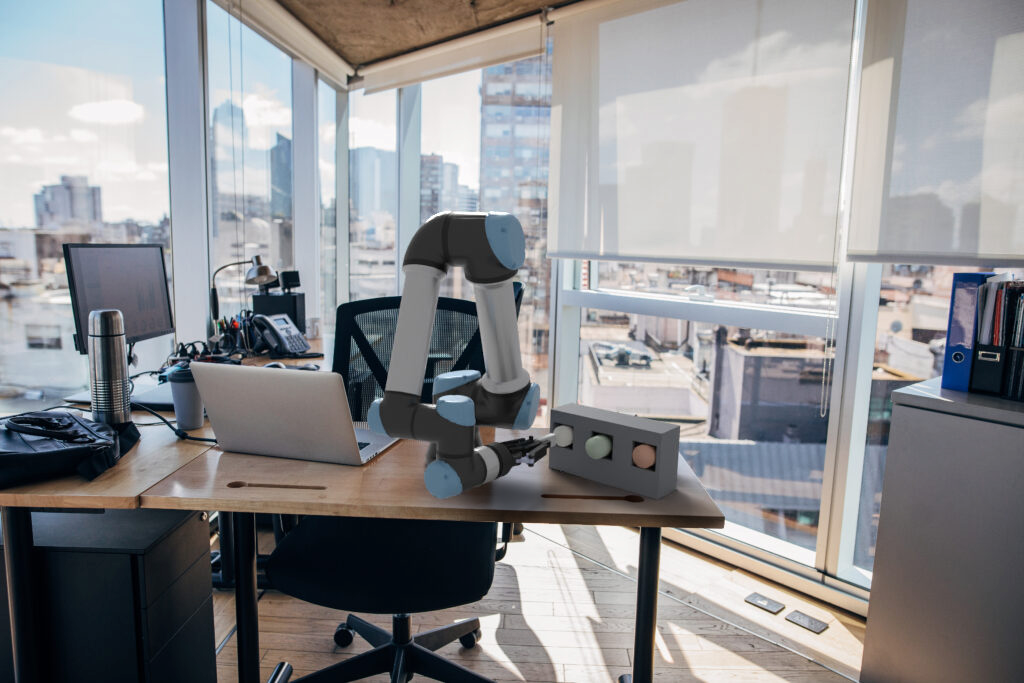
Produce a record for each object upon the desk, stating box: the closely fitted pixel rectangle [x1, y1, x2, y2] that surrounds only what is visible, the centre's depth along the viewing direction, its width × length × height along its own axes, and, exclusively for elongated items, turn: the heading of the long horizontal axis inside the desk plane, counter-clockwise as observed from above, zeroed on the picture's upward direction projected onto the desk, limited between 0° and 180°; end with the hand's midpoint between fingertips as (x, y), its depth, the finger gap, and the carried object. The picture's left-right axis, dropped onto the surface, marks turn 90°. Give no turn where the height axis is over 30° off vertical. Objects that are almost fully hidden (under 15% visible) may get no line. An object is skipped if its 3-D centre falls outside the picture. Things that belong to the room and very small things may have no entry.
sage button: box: [585, 434, 613, 459], centre depth 151 cm, size 4×5×5 cm
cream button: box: [553, 425, 574, 447], centre depth 159 cm, size 4×5×5 cm
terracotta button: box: [632, 443, 657, 468], centre depth 146 cm, size 4×5×5 cm
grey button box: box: [548, 402, 681, 501], centre depth 155 cm, size 9×30×15 cm, turn 50°
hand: (553, 439), depth 155 cm, fingers closed
